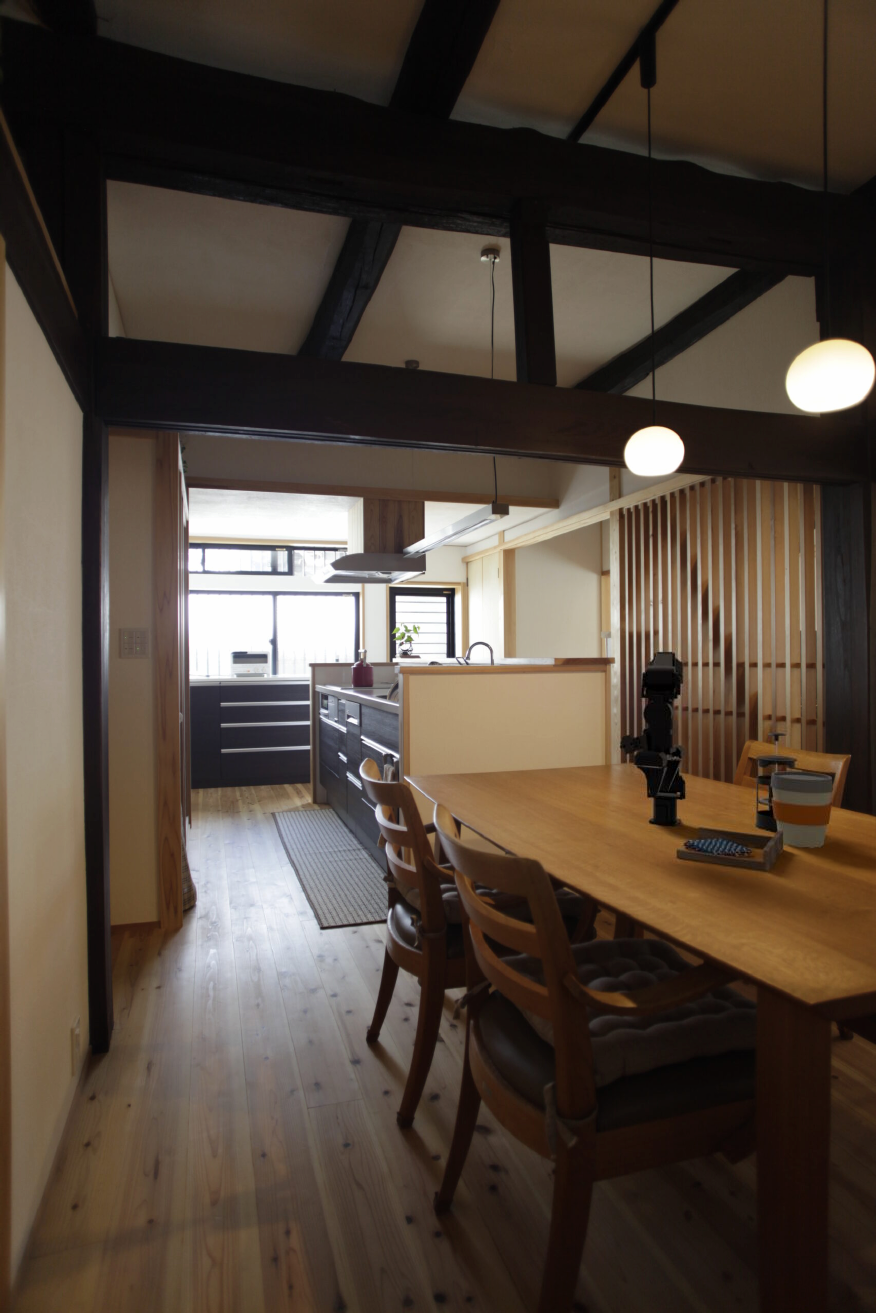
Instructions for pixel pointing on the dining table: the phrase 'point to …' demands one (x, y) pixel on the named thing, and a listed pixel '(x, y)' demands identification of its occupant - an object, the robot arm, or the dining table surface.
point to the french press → (767, 816)
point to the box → (769, 843)
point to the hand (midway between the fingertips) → (660, 793)
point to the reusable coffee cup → (802, 806)
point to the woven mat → (717, 847)
